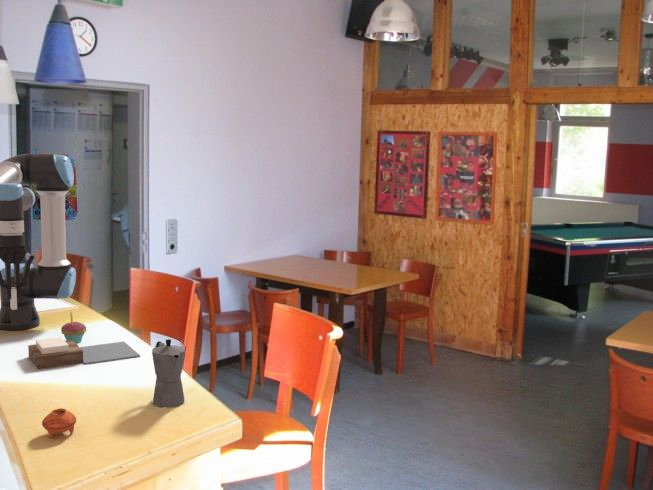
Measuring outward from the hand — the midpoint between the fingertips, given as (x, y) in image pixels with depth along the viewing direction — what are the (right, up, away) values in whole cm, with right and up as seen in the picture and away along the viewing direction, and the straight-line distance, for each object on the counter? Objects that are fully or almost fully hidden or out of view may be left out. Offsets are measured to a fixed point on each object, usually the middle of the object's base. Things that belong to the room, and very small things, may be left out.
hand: (13, 308), depth 226 cm
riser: (+10, -17, +9) cm, 22 cm away
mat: (+23, -17, +18) cm, 34 cm away
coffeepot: (+53, -24, -23) cm, 62 cm away
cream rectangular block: (+9, -14, +8) cm, 18 cm away
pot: (+32, -27, -47) cm, 63 cm away
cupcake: (+8, -15, +30) cm, 34 cm away
